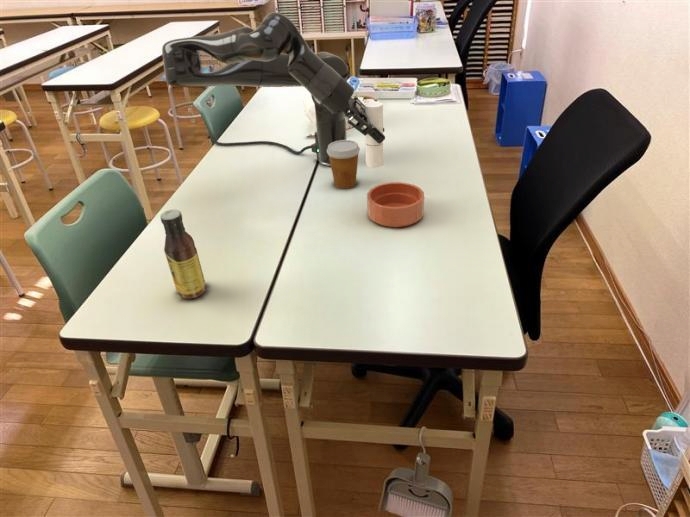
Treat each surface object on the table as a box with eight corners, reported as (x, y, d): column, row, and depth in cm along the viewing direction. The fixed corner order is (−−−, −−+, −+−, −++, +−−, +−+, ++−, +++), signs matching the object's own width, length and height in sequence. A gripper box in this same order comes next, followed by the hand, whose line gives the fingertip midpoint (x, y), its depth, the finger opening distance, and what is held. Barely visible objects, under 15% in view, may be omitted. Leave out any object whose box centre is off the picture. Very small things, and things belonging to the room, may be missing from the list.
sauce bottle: (180, 284, 116) (158, 206, 105) (208, 282, 116) (189, 203, 105) (175, 302, 111) (150, 222, 100) (204, 300, 111) (183, 219, 100)
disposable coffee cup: (366, 179, 156) (364, 141, 149) (353, 193, 149) (351, 153, 142) (337, 175, 159) (335, 137, 153) (323, 188, 152) (320, 149, 146)
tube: (381, 167, 127) (381, 107, 118) (364, 167, 128) (362, 106, 119) (384, 160, 130) (384, 101, 122) (367, 160, 131) (366, 101, 123)
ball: (352, 98, 201) (340, 50, 180) (359, 150, 190) (346, 106, 169) (309, 107, 203) (291, 61, 182) (313, 159, 192) (295, 116, 171)
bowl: (356, 218, 137) (355, 198, 133) (389, 197, 146) (388, 177, 142) (402, 235, 129) (403, 213, 125) (433, 211, 138) (434, 191, 134)
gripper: (320, 90, 126) (371, 136, 133) (316, 110, 115) (371, 159, 121) (341, 67, 123) (392, 115, 129) (338, 84, 111) (394, 136, 117)
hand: (382, 136), depth 125 cm, fingers closed on tube, 4 cm apart
